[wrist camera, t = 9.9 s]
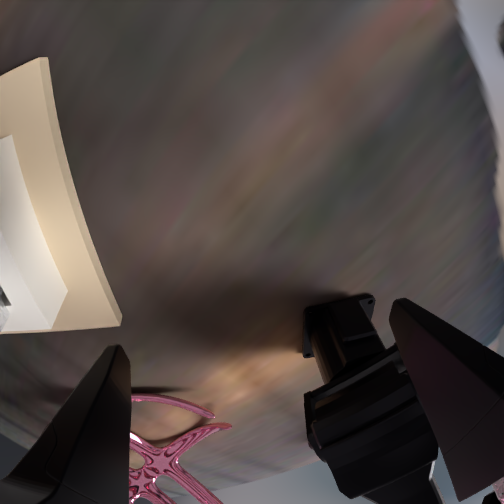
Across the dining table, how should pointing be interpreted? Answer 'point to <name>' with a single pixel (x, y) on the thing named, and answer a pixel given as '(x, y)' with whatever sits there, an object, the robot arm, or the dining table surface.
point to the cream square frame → (44, 218)
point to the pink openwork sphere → (169, 456)
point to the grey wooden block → (3, 312)
